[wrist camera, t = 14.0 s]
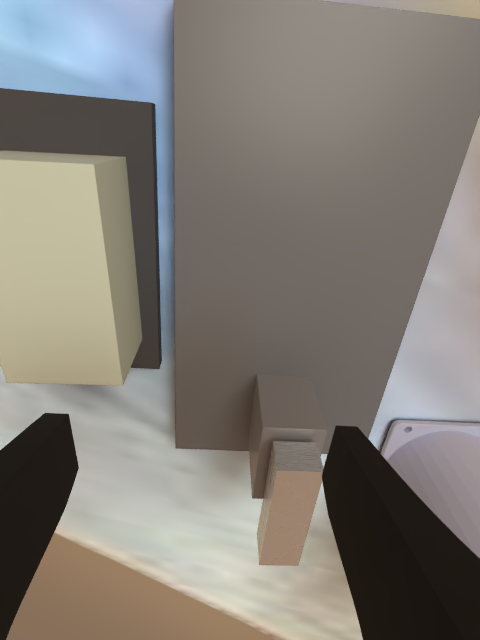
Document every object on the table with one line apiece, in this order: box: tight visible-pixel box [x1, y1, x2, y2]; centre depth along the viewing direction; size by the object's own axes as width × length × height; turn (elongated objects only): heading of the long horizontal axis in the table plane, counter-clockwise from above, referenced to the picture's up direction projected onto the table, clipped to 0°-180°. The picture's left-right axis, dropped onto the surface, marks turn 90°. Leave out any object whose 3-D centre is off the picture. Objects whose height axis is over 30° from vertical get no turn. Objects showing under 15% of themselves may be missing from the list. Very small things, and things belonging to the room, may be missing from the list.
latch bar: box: [257, 441, 323, 566], centre depth 17 cm, size 2×7×2 cm, turn 175°
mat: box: [0, 88, 162, 369], centre depth 17 cm, size 8×13×1 cm, turn 175°
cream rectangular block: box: [0, 151, 142, 386], centre depth 15 cm, size 5×9×4 cm, turn 177°
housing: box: [174, 0, 480, 499], centre depth 16 cm, size 12×22×6 cm, turn 175°
